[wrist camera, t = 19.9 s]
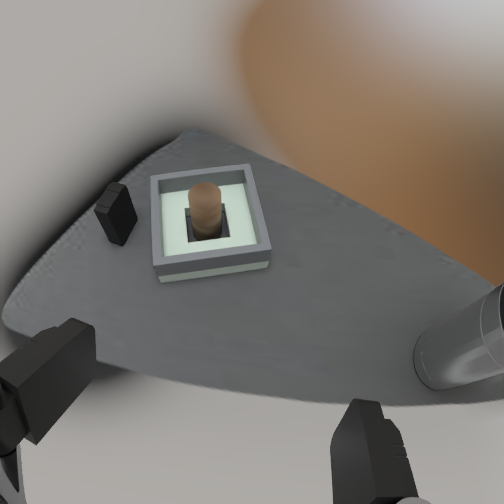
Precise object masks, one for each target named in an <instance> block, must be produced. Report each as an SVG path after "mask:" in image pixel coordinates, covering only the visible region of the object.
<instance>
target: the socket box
mask: <svg viewBox="0 0 504 504" xmlns="http://www.w3.org/2000/svg"><path fill="white" fill-rule="evenodd" d="M201 182H210V183H213V184H215V185H217V186H218V187H219V189H220V190H221V207H222V212H225V218H226V223H227V228H228V234H229V237H227V238H219V239H212V240H205V241H197V242H190V243H189V242H188V233H187V223H186V216H191V215H190V208H189V201H188V192H189V190H190V189H191V187H193V186H194V185H195V184H198V183H201ZM151 226H152V251H153V266H154V269H155V271H156V273H157V275H158V277H159V280H160V282H161V283H165V282H172V281H179V280H186V279H194V278H201V277H208V276H215V275H222V274H229V273H236V272H243V271H249V270H256V269H263V268H267V267H268V263H269V259H270V255H271V251H272V248H271V244H270V240H269V236H268V232H267V228H266V224H265V220H264V216H263V213H262V209H261V205H260V201H259V197H258V193H257V190H256V186H255V182H254V178H253V174H252V171H251V167H250V164H242V165H232V166H223V167H214V168H205V169H197V170H189V171H182V172H174V173H167V174H161V175H154V176H151Z"/></svg>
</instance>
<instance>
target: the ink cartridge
mask: <svg viewBox="0 0 504 504" xmlns="http://www.w3.org/2000/svg"><path fill="white" fill-rule="evenodd" d="M94 212H95V214H96V216H97V218H98V220H99V222H100V224H101V226H102V227H103V229H104V231H105V233H106V235H107V237H108V240H109V241H111V242H114V243H117V244H120V245H124V244H125V242H126V240H127V238H128V237H129V235H130V233H131V231H132V229H133V227H134V225H135V224H136V222H137V215H136V212H135V210H134V207H133V204H132V201H131V198H130V195H129V192H128V189H127V187H126V185H124V184H120V183H115V182H112V183H111V184H109V186H108V187H107V188H106V190H105V192H104V193H103V195H102V196H101V198H100V199H99V200H98V202H97V205H96V207H95V208H94Z"/></svg>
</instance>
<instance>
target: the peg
mask: <svg viewBox="0 0 504 504" xmlns="http://www.w3.org/2000/svg"><path fill="white" fill-rule="evenodd" d="M188 201H189V208H190V215H191V221H192V227H193V234H194V236H195V238H196V239H197V240H198V241H205V240H212V239H219V237H220V236H221V233H222V207H221V190H220V189H219V187H218V186H217V185H215V184H213V183H210V182H201V183H198V184H195V185H194V186H193V187H191V189H190V190H189V192H188Z"/></svg>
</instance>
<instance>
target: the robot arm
mask: <svg viewBox="0 0 504 504" xmlns="http://www.w3.org/2000/svg"><path fill="white" fill-rule="evenodd" d="M414 364H415V369H416V371H417V374H418V376H419V378H420V379H421V381H422V382H423V383H424V384H425V385H426V386H428V387H429V388H431V389H434V390H445V389H449V388H453V387H457V386H461V385H465V384H469V383H472V382H476V381H479V380H482V379H486V378H489V377H492V376H495V375H498V374H501V373H504V282H503V283H502V284H500V285H499V286H497V287H496V288H494V289H493V290H492V291H490V292H489V293H487V294H486V295H484V296H483V297H481V298H480V299H478V300H477V301H475V302H474V303H472V304H471V305H469V306H467V307H466V308H464V309H463V310H461V311H459V312H458V313H456V314H454V315H453V316H451V317H449V318H448V319H446V320H444V321H443V322H441V323H439V324H437V325H436V326H434V327H432V328H430V329H429V330H427V331H426V332H424V333H423V334H422V335H421V336H420V338H419V340H418V341H417V344H416V347H415V352H414ZM95 371H96V344H95V329H94V327H93V326H92V325H89V324H87V323H84V322H82V321H80V320H77V319H75V318H70V319H68V320H67V321H66V322H64V323H63V324H62V325H60V326H59V327H58V328H57V327H52V328H49V329H46V330H43V331H40V332H39V333H38V334H36V335H35V336H34V337H32V338H31V339H30V341H27V342H26V343H25V344H23V345H22V347H21V348H20V347H19V348H18V349H17V350H15V351H14V352H13V353H11V354H10V355H9V356H8V357H6V358H5V359H4V360H3V361H1V362H0V504H27V503H26V499H25V493H24V485H23V475H22V463H21V448H20V444H19V443H20V442H21V440H22V439H23V438H26V439H27V440H29V441H30V442H32V443H33V444H35V445H37V444H38V443H39V442H40V440H41V439H42V438H43V437H44V436H45V435H46V433H47V432H48V431H49V430H50V428H51V427H52V426H53V425H54V424H55V423H56V422H57V420H58V419H59V418H60V417H61V416H62V414H63V413H64V412H65V411H66V410H67V409H68V407H69V406H70V405H71V404H72V403H73V402H74V401H75V399H76V398H77V397H78V396H79V395H80V394H81V392H82V391H83V390H84V389H85V388H86V387H87V385H88V384H89V383H90V382H91V381H92V379H93V377H94V374H95ZM403 445H404V444H403V440H402V437H401V434H400V431H399V430H398V428H396V426H395V425H394V423H393V422H392V421H391V420H390V419H384V416H383V412H382V409H381V405H380V403H379V402H377V401H370V400H363V399H353V400H352V402H351V403H350V405H349V407H348V409H347V410H346V412H345V414H344V416H343V418H342V420H341V422H340V423H339V425H338V427H337V428H336V430H335V432H334V434H333V437H332V441H331V446H330V454H331V470H332V486H333V504H431V503H429V502H428V501H426V500H424V499H421V498H419V496H418V493H417V489H416V485H415V482H414V478H413V474H412V471H411V468H410V464H409V460H408V458H406V457H407V454H406V450H405V447H403Z"/></svg>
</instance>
